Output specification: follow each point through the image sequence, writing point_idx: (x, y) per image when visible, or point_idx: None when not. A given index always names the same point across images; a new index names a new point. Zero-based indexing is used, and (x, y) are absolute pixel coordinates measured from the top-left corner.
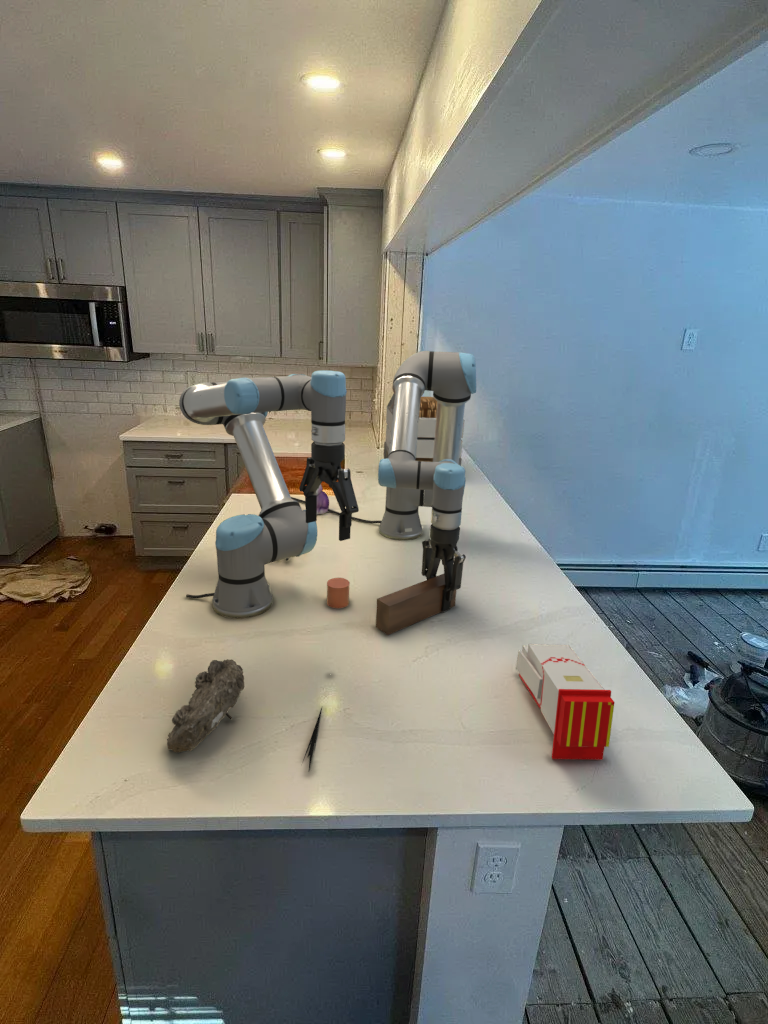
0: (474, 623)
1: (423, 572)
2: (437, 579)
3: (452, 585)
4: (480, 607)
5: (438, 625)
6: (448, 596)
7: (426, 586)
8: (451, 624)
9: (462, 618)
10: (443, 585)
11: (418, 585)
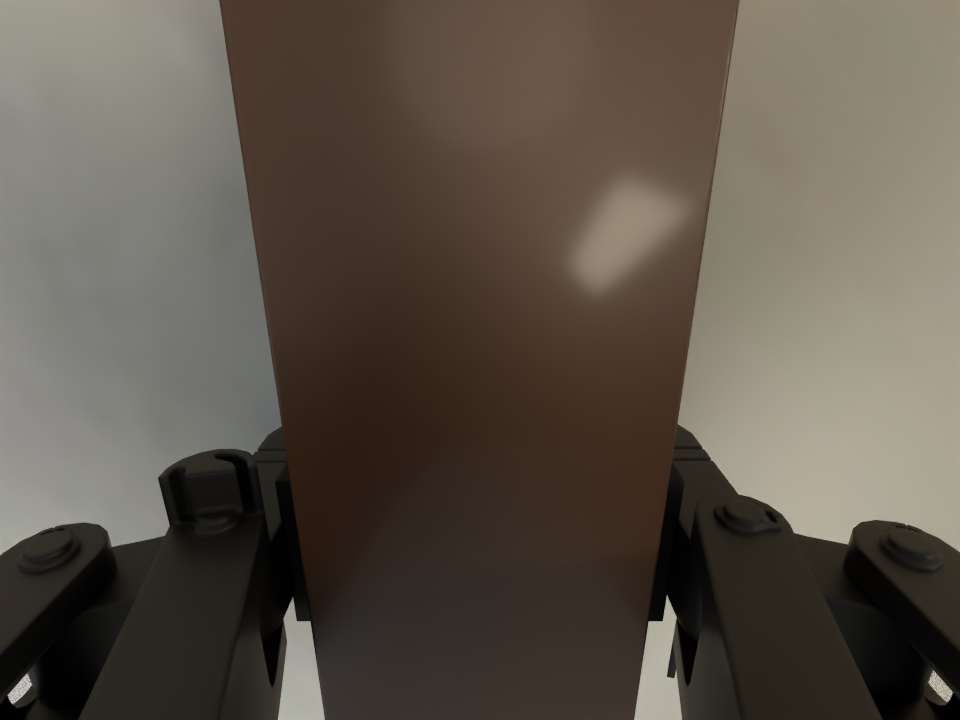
0: (92, 435)
1: (924, 573)
2: (538, 595)
3: (7, 611)
4: None
5: (209, 127)
6: (270, 458)
7: (445, 184)
8: (165, 256)
9: (210, 415)
10: (299, 529)
11: (626, 38)
